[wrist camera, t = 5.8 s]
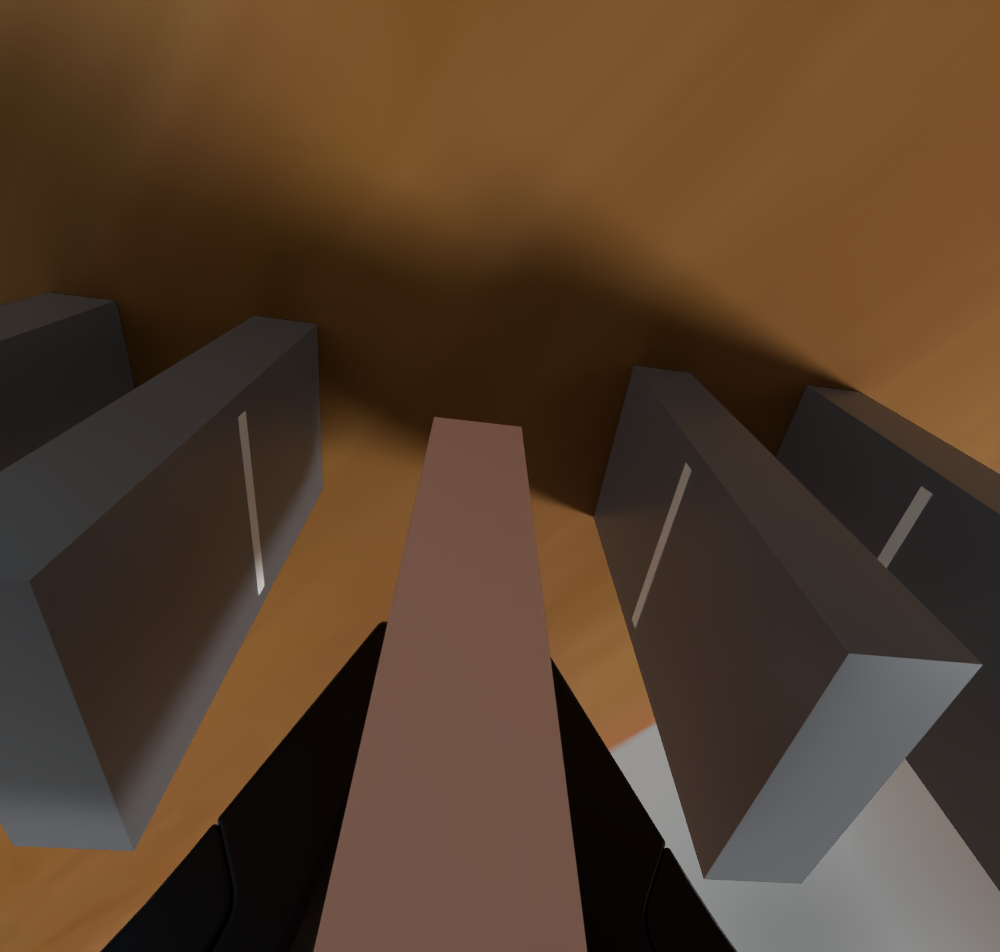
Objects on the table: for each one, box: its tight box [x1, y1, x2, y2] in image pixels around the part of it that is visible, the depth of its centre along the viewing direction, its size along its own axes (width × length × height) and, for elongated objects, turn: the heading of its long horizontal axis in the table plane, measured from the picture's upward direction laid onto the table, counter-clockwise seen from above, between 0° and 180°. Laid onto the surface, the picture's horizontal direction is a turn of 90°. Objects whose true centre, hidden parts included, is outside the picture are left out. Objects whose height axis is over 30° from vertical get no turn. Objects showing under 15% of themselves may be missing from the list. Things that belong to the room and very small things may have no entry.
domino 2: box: [594, 366, 983, 883], centre depth 11 cm, size 2×5×10 cm, turn 173°
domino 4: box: [0, 316, 323, 851], centre depth 11 cm, size 2×5×10 cm, turn 172°
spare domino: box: [314, 417, 587, 952], centre depth 7 cm, size 2×5×10 cm, turn 173°
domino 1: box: [775, 385, 1000, 891], centre depth 12 cm, size 2×5×10 cm, turn 172°
